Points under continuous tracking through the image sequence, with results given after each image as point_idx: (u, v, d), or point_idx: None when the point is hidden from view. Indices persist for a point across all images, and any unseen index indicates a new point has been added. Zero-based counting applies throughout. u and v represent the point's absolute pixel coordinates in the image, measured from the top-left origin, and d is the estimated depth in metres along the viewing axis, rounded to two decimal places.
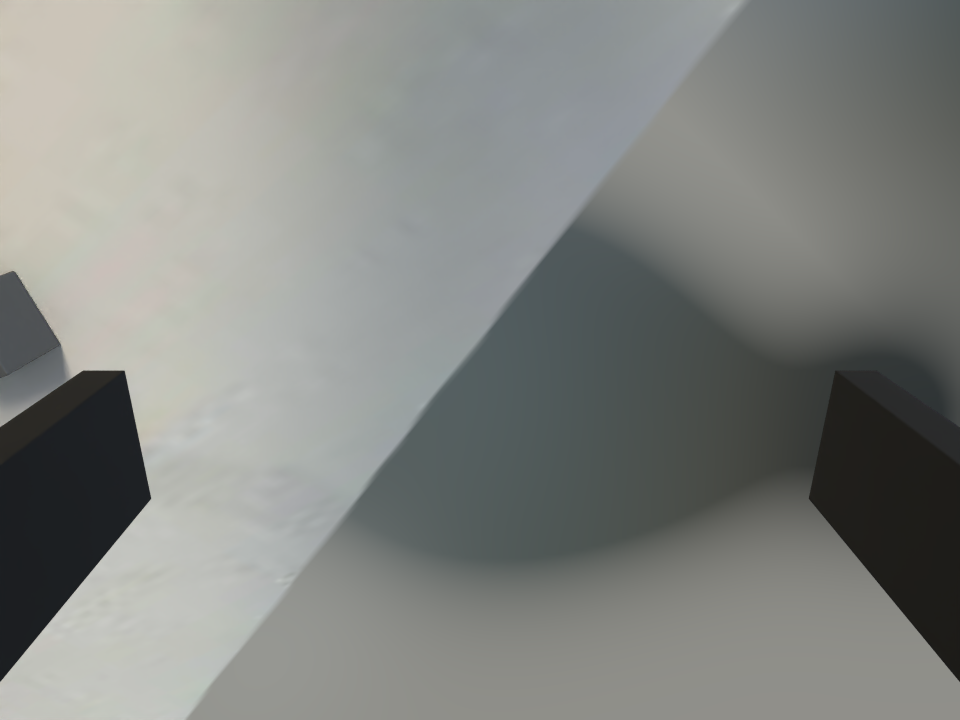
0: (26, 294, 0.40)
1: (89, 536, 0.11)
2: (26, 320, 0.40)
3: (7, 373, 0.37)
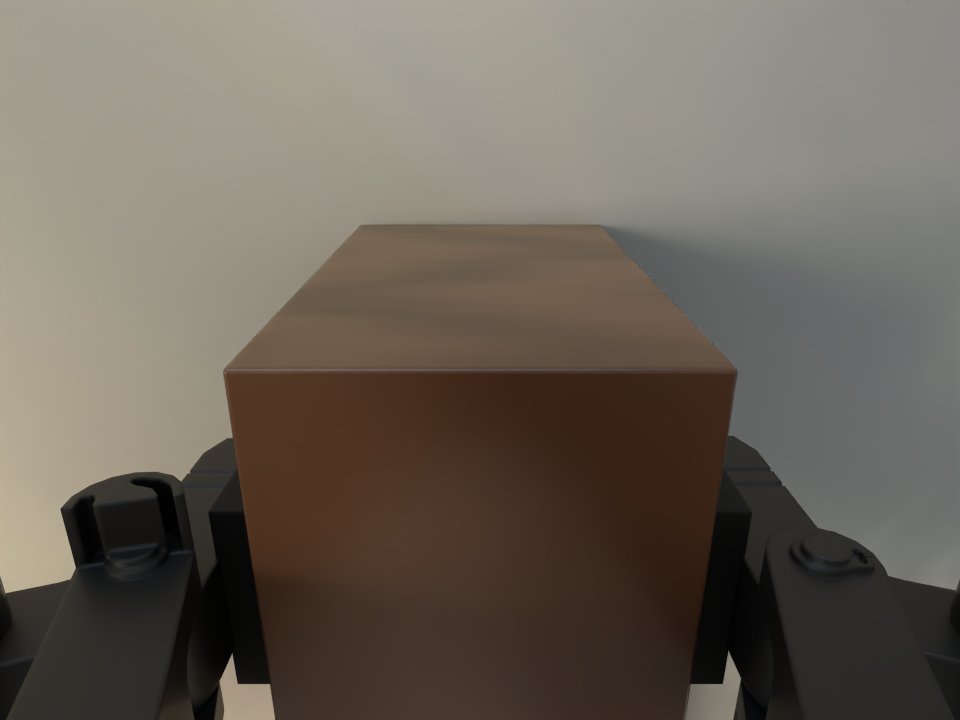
0: None
1: None
2: None
3: None
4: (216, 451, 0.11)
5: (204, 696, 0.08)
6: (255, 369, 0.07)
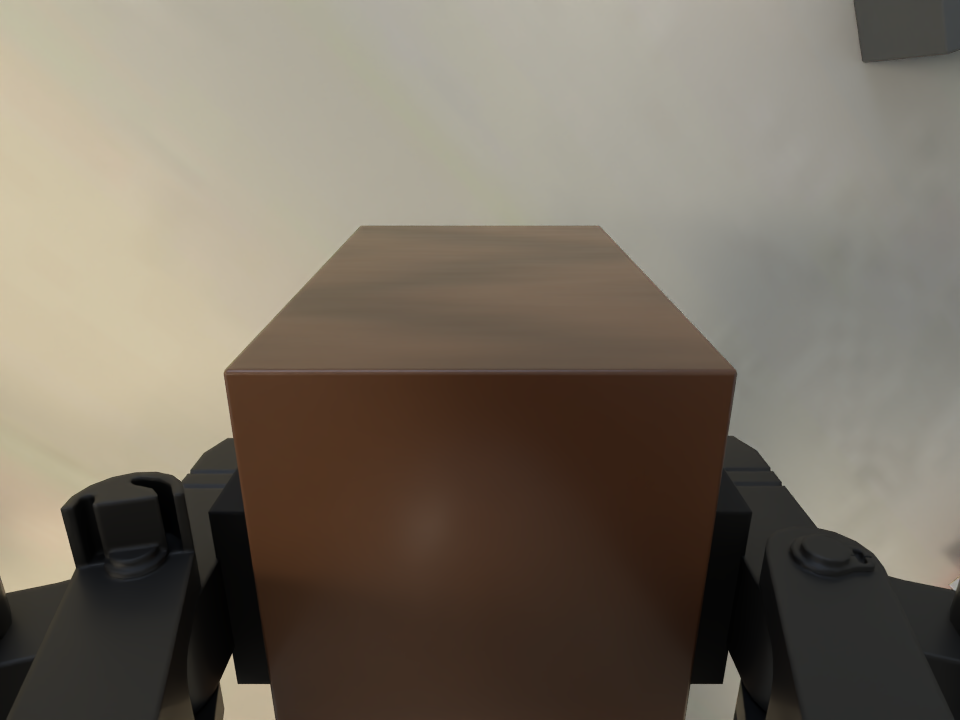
0: None
1: None
2: None
3: None
4: (216, 450, 0.11)
5: (204, 697, 0.08)
6: (256, 370, 0.07)
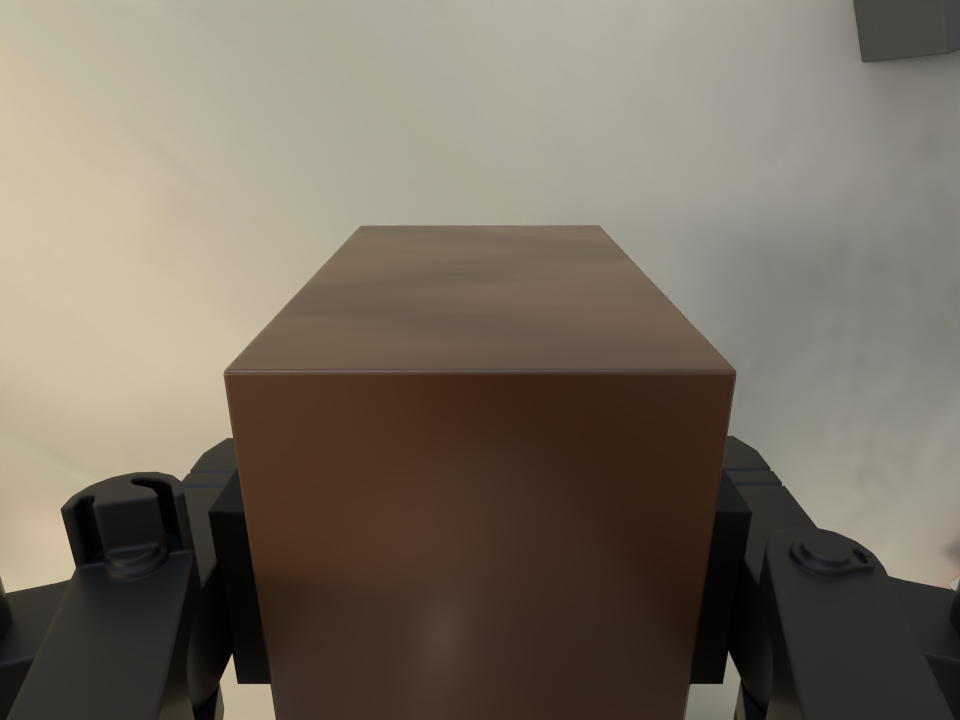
0: None
1: None
2: None
3: None
4: (216, 450, 0.11)
5: (204, 696, 0.08)
6: (255, 371, 0.07)
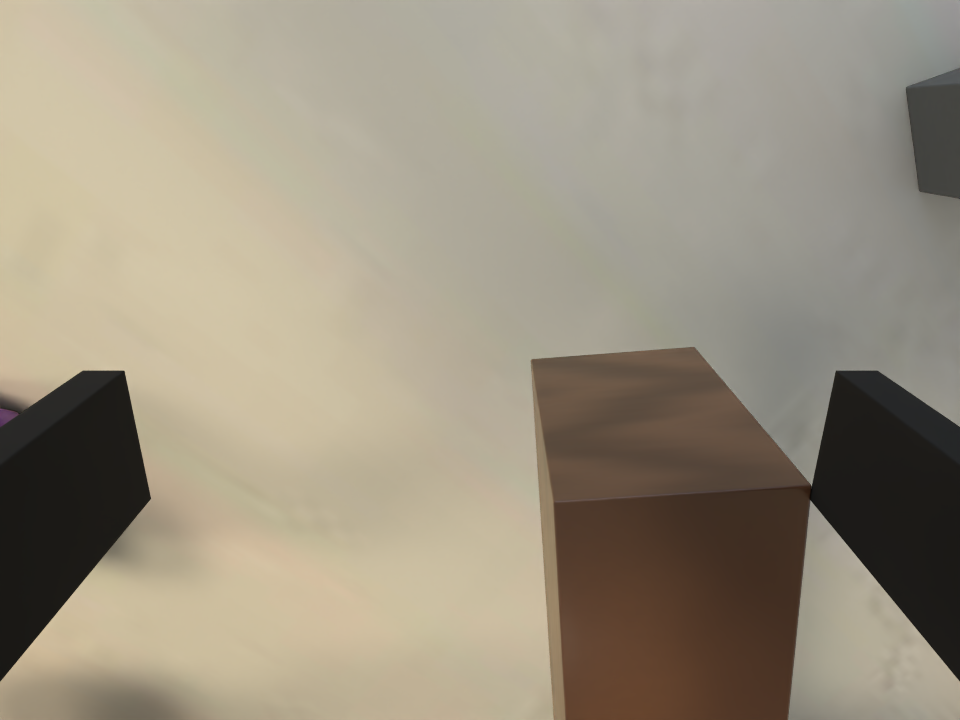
0: (942, 74, 0.30)
1: (89, 536, 0.11)
2: None
3: None
4: None
5: None
6: (568, 500, 0.13)
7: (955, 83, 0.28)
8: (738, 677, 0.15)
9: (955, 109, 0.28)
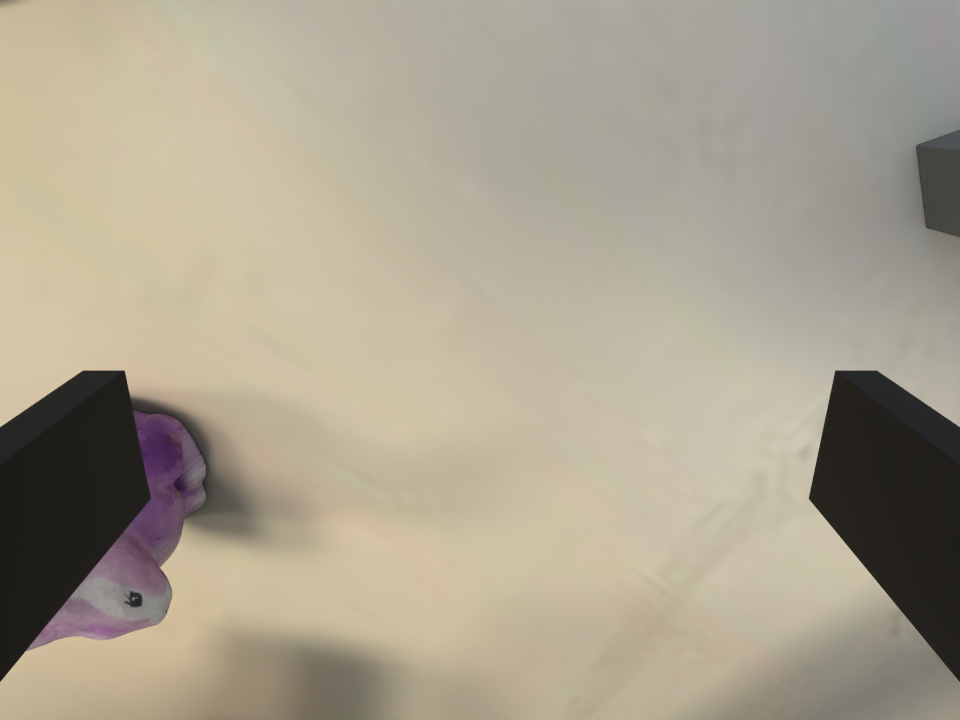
0: (945, 135, 0.38)
1: (89, 536, 0.11)
2: None
3: None
4: None
5: None
6: None
7: (957, 149, 0.35)
8: None
9: (957, 169, 0.35)
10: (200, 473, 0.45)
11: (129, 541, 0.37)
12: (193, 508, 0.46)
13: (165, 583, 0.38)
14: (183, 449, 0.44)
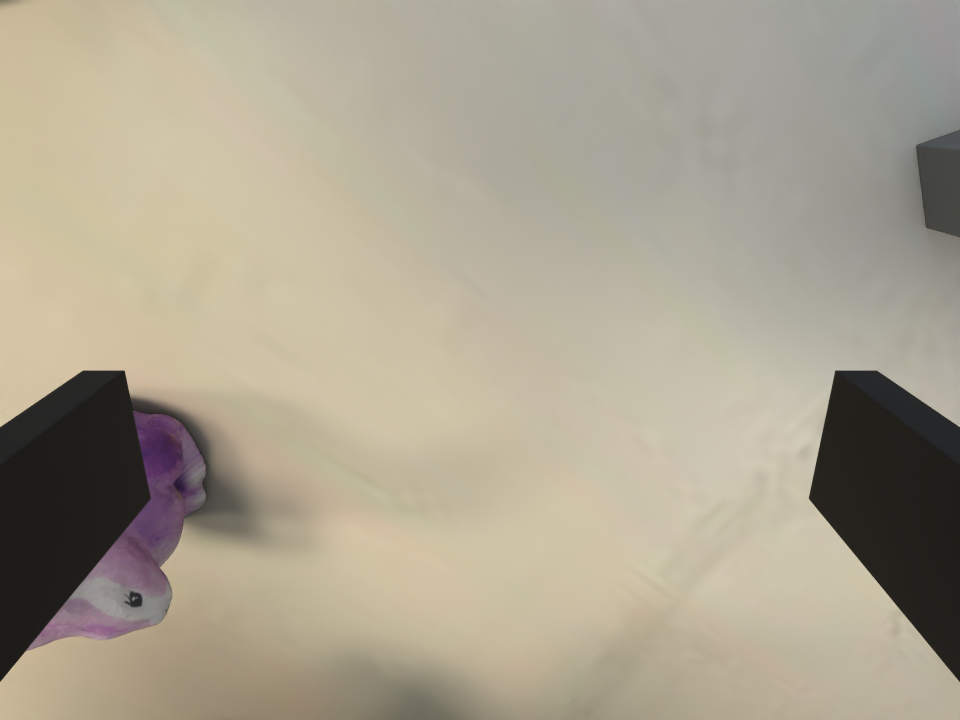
0: (945, 135, 0.38)
1: (89, 536, 0.11)
2: None
3: None
4: None
5: None
6: None
7: (957, 149, 0.35)
8: None
9: (957, 169, 0.35)
10: (200, 473, 0.45)
11: (129, 541, 0.37)
12: (193, 508, 0.46)
13: (165, 583, 0.38)
14: (183, 449, 0.44)
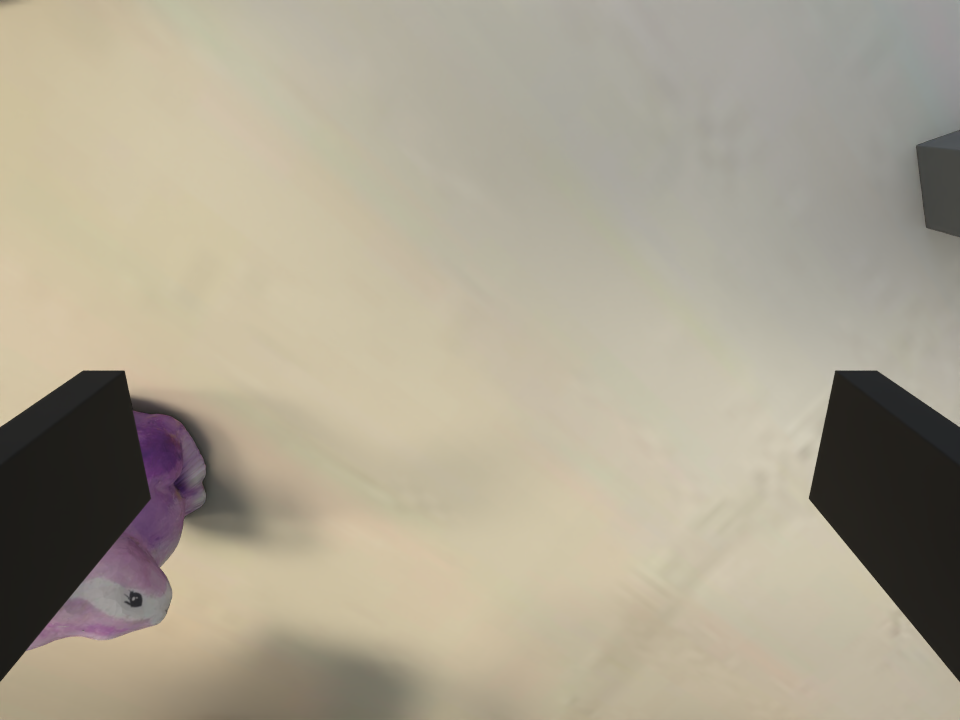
0: (945, 135, 0.38)
1: (89, 536, 0.11)
2: None
3: None
4: None
5: None
6: None
7: (957, 149, 0.35)
8: None
9: (957, 169, 0.35)
10: (200, 473, 0.45)
11: (129, 541, 0.37)
12: (193, 508, 0.46)
13: (165, 583, 0.38)
14: (183, 449, 0.44)
